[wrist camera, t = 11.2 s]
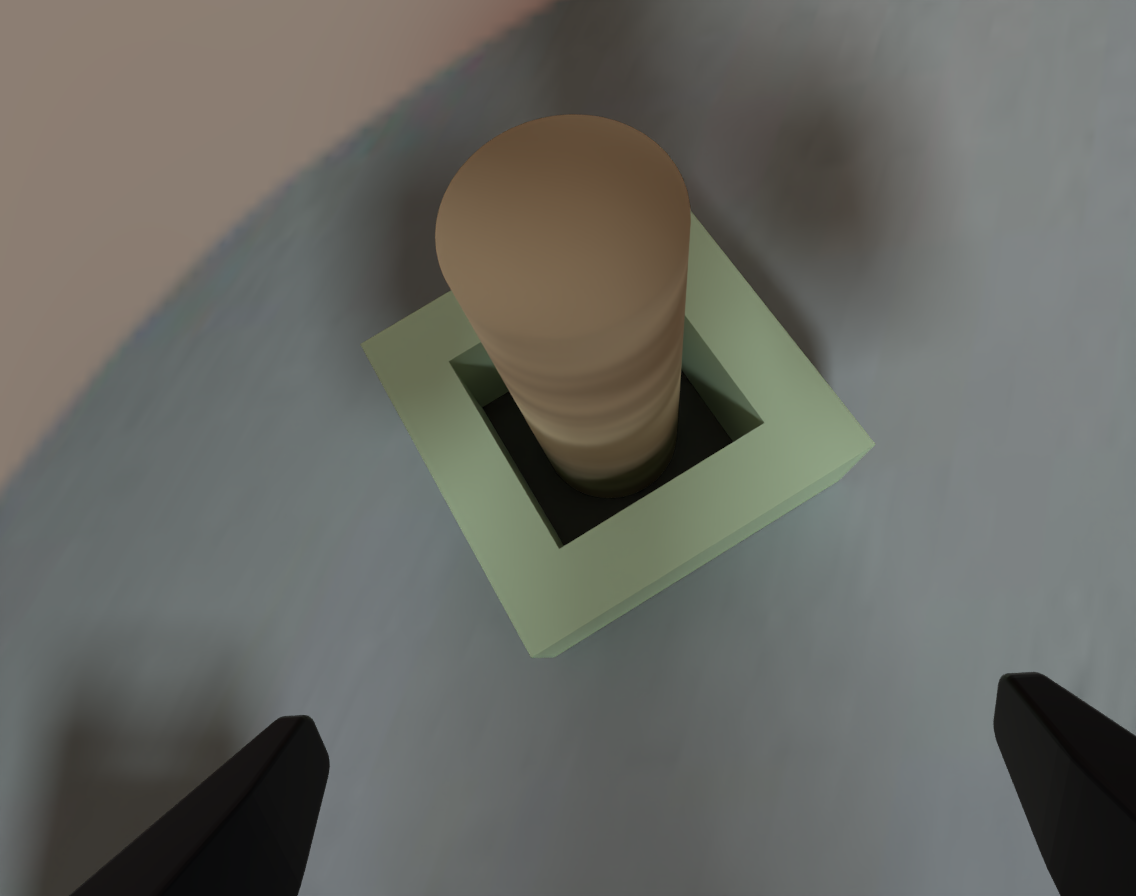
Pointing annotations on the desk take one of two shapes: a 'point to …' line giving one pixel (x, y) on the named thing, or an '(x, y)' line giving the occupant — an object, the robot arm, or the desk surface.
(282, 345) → the desk surface
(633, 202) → the beige ridged cylinder
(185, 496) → the desk surface
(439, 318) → the pale green square holder
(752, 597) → the desk surface
